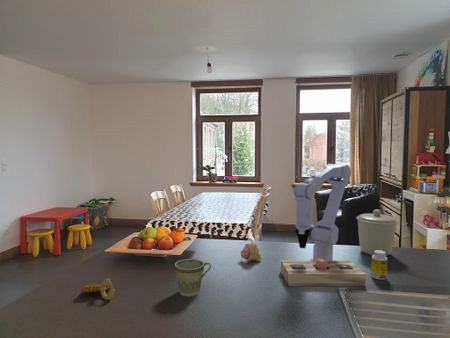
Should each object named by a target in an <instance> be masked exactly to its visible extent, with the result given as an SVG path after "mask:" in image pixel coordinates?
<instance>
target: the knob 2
mask: <svg viewBox="0 0 450 338" xmlns="http://www.w3.org/2000/svg"><path fill="white" fill-rule="evenodd" d="M338 268H339V269H351V266H349V265H346V264H340V265H339V266H338Z"/></svg>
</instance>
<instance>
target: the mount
mask: <svg viewBox="0 0 450 338" xmlns="http://www.w3.org/2000/svg"><path fill="white" fill-rule="evenodd" d="M293 264H300V265H303V266H304V269H292V265H293ZM340 264H346V265H349V266H351V269H339V268H338V266H339V265H340ZM280 273H281V274H282V276H283V278H284V279H285V281H286V284H287V285H288V287H366V278H367V276H366V274H367V273H365V272H364V271H363V270H362V269H360V268H359V267H358V266H357V265H356V264H355V263H353V262H352V261H351V260H332V261H328V262H327V269H316V268H315V261H312V260H286V259H285V260H280Z"/></svg>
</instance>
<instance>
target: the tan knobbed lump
mask: <svg viewBox="0 0 450 338" xmlns="http://www.w3.org/2000/svg"><path fill="white" fill-rule="evenodd" d="M240 257H241V258H242V259H244V260H246V261H245V263H244V264H245V265H247V264H248V263H249V262H252V261H255V262H258V261H261V260H262V259H263V257H262V253H260V249H259V247H258V245H257V242H256V241H254V240H253V241H251V242H250V244H249V243H246V244H244V247H243V249H242V250H241V251H240Z"/></svg>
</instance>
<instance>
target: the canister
mask: <svg viewBox="0 0 450 338" xmlns="http://www.w3.org/2000/svg"><path fill="white" fill-rule="evenodd" d="M355 218H356V220H357V227H358V230H357V231H358V239H359V240H358V241H359V247H360V250H361V252H363V253H364V254H366V255H370V256H373V255H374V251H375V250H381V251H384V252H386V256H385V257H387V256H389V255H390V254H391V253H392V252H393V251H392V250H393V247H394V241H395V237H396V236H395V235H396V231H397V230H396V229H397V224H399V220H398V219H396V218H395V217H393V216H391V215H387V214H382V211H381V210H380V209H374V210H373V211H372V213H362V214H359V215H358V216H356V217H355Z"/></svg>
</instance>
